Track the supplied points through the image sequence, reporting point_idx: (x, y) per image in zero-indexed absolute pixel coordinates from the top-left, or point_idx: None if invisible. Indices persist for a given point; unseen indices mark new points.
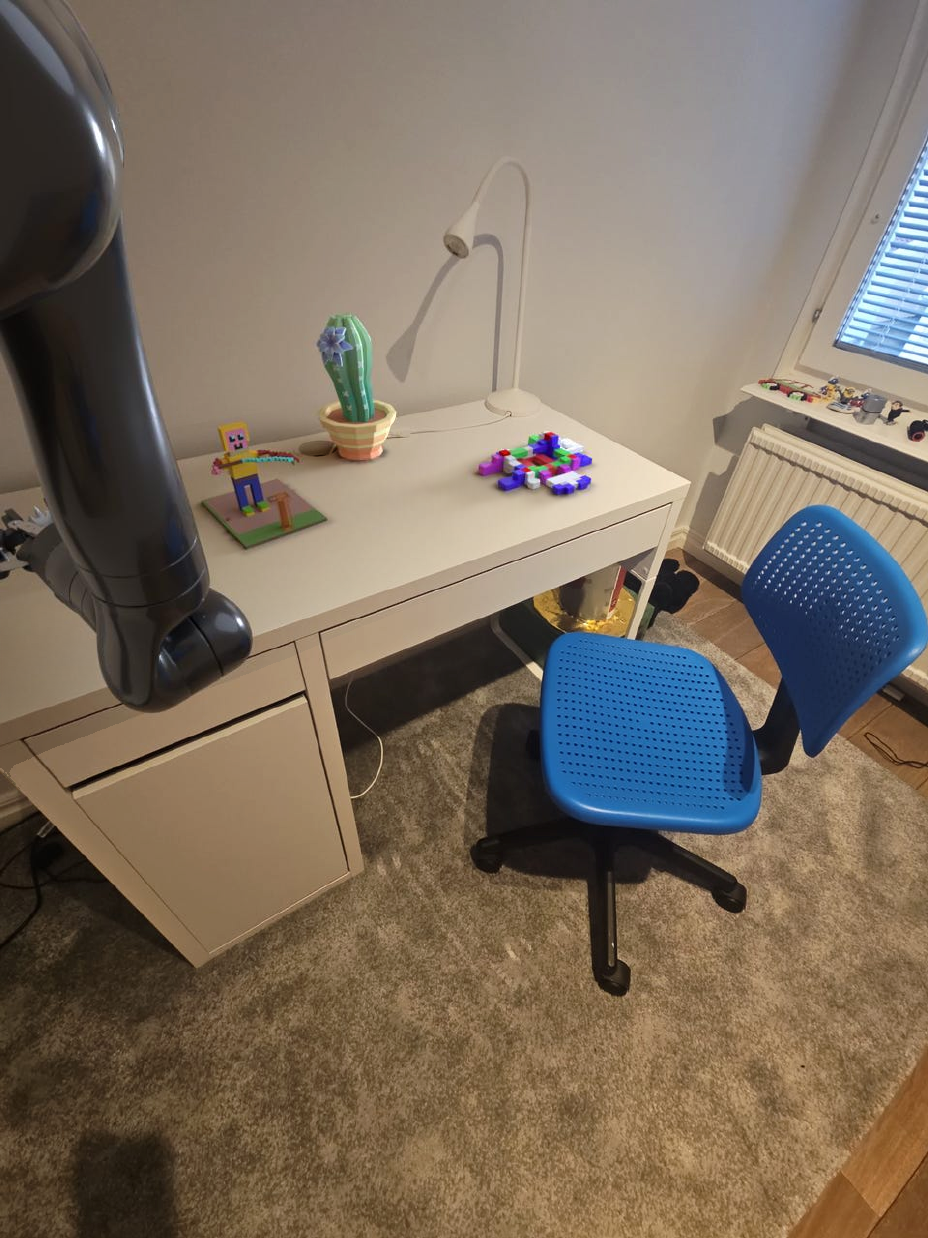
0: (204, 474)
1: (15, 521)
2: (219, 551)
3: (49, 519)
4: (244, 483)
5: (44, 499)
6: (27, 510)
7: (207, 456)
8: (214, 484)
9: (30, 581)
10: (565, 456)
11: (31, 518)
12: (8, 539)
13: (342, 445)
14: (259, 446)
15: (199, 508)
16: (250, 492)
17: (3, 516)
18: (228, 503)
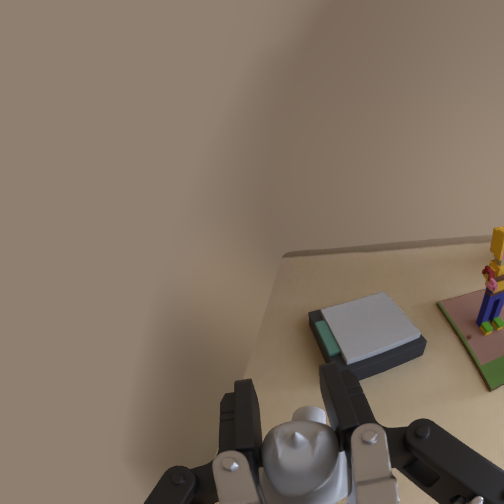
0: (430, 267)
1: (231, 466)
2: (462, 389)
3: (316, 459)
4: (495, 297)
5: (322, 372)
6: (287, 277)
7: (428, 248)
8: (442, 281)
9: (263, 371)
10: None
11: (276, 445)
12: (200, 498)
13: None
14: (465, 245)
15: (435, 311)
16: (479, 299)
17: (227, 396)
18: (463, 311)
